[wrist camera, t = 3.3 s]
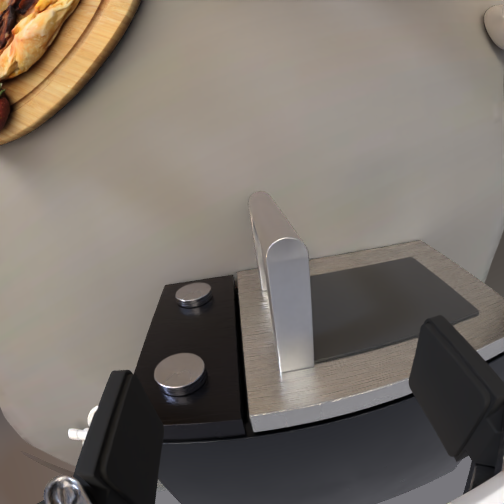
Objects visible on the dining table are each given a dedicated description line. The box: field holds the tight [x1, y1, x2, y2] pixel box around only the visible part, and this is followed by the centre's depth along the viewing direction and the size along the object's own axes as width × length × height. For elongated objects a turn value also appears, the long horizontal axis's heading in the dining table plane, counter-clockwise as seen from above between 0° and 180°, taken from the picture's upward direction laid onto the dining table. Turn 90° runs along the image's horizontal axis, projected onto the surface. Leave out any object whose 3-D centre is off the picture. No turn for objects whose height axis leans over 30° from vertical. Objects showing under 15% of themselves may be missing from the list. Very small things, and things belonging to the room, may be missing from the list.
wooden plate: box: [0, 0, 141, 145], centre depth 14 cm, size 32×32×8 cm
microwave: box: [134, 275, 504, 504], centre depth 26 cm, size 22×28×18 cm
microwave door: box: [237, 191, 504, 432], centre depth 21 cm, size 10×21×18 cm, turn 98°
